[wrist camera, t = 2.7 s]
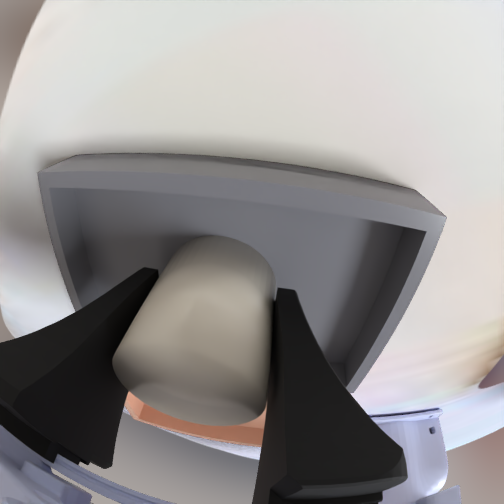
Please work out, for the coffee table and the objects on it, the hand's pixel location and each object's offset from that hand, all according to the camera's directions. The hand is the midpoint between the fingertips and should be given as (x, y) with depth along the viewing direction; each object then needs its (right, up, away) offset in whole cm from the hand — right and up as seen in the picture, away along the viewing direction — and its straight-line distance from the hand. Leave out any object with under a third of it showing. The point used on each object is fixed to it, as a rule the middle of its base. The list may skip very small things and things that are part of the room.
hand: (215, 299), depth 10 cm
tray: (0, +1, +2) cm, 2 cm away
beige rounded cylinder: (0, 0, +1) cm, 1 cm away
